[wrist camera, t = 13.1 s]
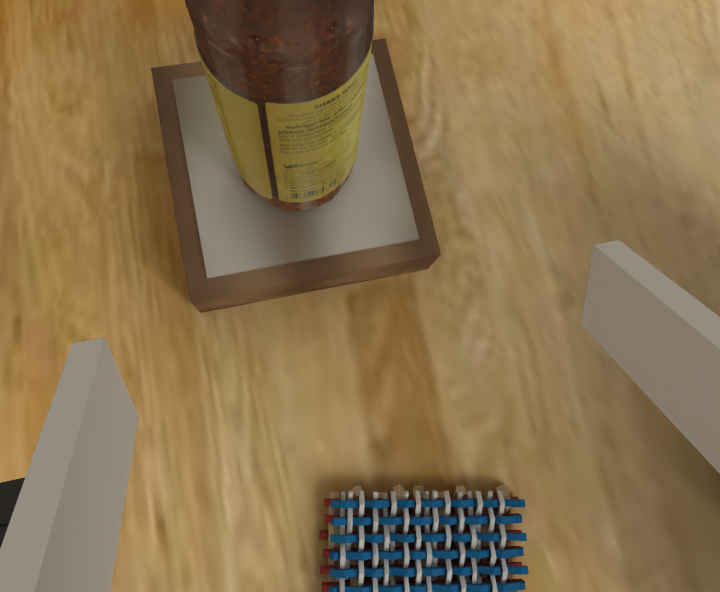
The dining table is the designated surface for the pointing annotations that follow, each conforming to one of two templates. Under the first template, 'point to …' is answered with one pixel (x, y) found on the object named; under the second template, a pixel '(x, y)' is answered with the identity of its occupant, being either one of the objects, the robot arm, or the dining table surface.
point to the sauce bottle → (288, 90)
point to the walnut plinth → (284, 227)
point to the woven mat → (422, 542)
